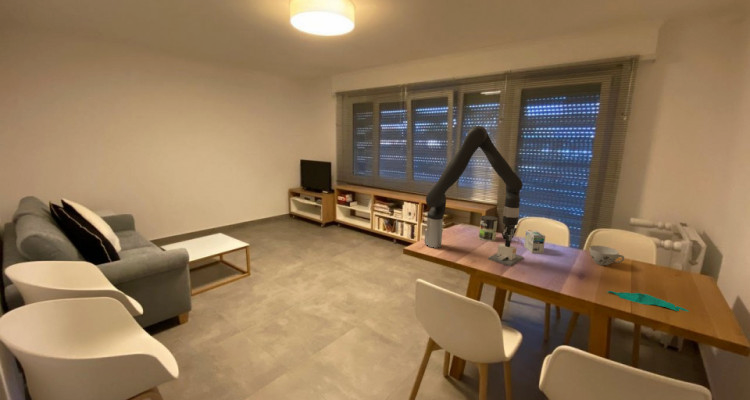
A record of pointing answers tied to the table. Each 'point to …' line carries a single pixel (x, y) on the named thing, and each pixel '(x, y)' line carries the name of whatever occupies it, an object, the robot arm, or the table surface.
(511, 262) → the mounting board
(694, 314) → the table surface
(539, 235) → the light bulb box
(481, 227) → the coffee can
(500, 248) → the block
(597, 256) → the teacup
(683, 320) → the table surface
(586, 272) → the table surface
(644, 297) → the cloth
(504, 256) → the metal rail
